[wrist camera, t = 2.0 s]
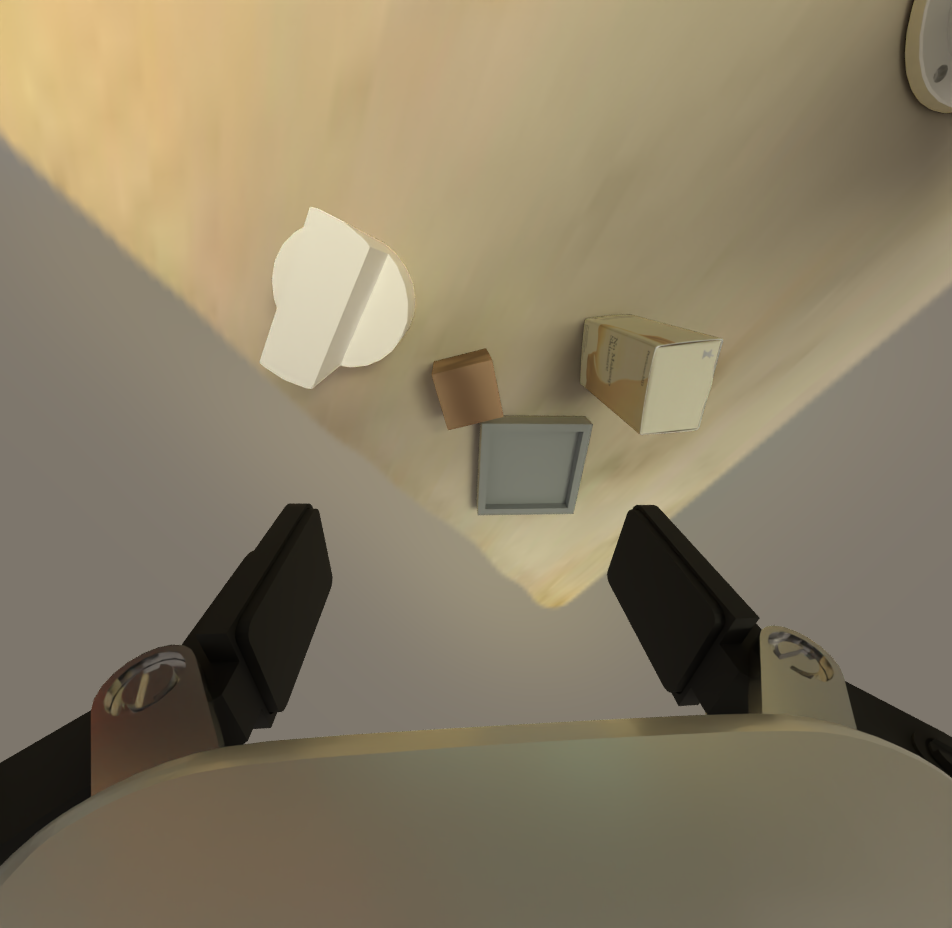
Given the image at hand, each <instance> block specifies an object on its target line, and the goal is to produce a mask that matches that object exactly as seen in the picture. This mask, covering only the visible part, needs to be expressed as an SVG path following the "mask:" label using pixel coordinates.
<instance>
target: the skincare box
mask: <svg viewBox="0 0 952 928" xmlns="http://www.w3.org/2000/svg"><path fill="white" fill-rule="evenodd" d="M722 343H723V339H722V338H718V337H714V336H710V335H706V334H702V333H698V332H695V331H691V330H687V329H683V328H680V327H676V326H672V325H668V324H665V323H660V322H657V321H653V320H649V319H645V318H641V317H638V316H634V315H630V314H626V315H611V316H601V317H593V318H587V319H586V320H585V324H584V333H583V343H582V354H581V374H580V383H581V385H583V386H584V387H585V388H586V389H587V390H589V391H590V392H591V393H592V394H593V395H594V396H596V397H597V398H598V399H599V400H600V401H601V402H603V403H604V404H605V405H606V406H607V407H608V408H610V409H611V410H612V411H613V412H614V413H615V414H617V415H618V416H619V417H620V418H621V419H622V420H624V421H625V422H626V423H627V424H628V425H629V426H631V427H632V428H633V429H634V430H635V431H636V432H638V433H639V434H640V435H650V434H666V433H677V432H687V431H696V430H697V429H698V428H699V426H700V423H701V419H702V416H703V412H704V408H705V405H706V401H707V398H708V395H709V392H710V389H711V386H712V381H713V376H714V372H715V368H716V365H717V361H718V357H719V354H720V350H721V346H722Z"/></svg>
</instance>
